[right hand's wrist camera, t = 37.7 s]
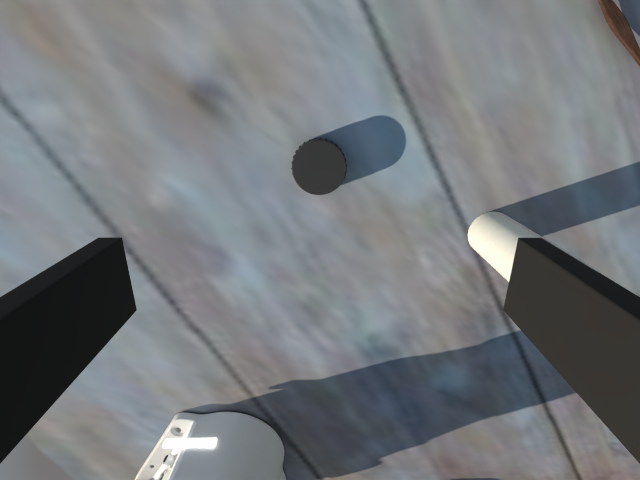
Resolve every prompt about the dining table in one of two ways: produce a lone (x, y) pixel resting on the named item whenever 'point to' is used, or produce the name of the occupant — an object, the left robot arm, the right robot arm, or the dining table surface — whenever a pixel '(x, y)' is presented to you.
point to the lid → (319, 166)
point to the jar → (500, 240)
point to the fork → (620, 27)
